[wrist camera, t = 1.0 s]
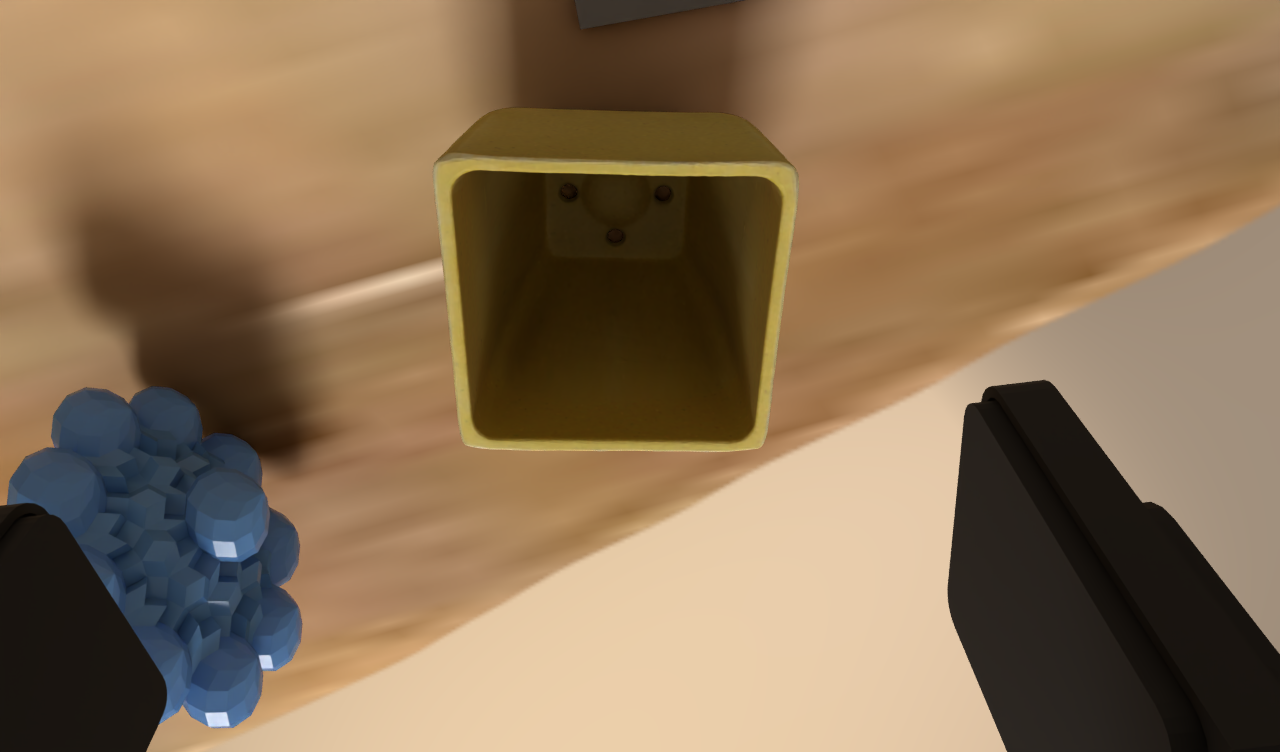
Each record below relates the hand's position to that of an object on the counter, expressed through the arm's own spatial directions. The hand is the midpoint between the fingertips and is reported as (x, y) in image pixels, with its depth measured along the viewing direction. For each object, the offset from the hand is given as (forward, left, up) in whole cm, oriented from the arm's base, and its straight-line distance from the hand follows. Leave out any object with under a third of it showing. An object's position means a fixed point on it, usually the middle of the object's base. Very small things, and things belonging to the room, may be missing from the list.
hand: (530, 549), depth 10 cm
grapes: (+13, -16, -23) cm, 30 cm away
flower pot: (+5, 0, -23) cm, 23 cm away
